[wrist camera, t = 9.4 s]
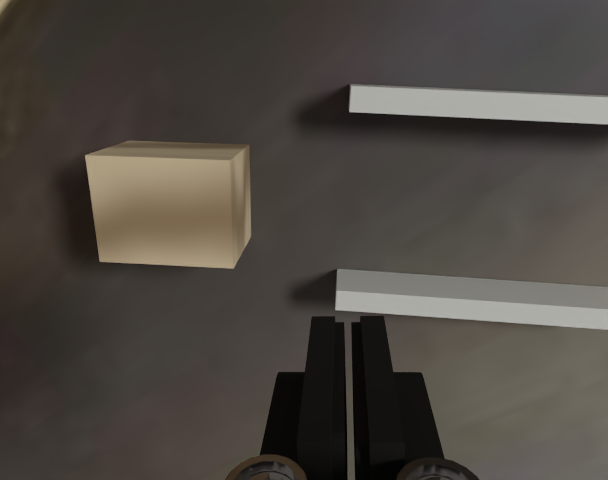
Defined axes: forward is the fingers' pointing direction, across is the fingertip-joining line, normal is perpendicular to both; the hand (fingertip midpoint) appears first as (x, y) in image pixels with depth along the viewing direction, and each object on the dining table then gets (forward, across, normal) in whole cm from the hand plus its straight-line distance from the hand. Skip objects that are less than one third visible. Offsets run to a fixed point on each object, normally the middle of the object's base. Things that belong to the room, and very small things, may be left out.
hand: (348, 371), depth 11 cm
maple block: (+17, +9, 0) cm, 19 cm away
